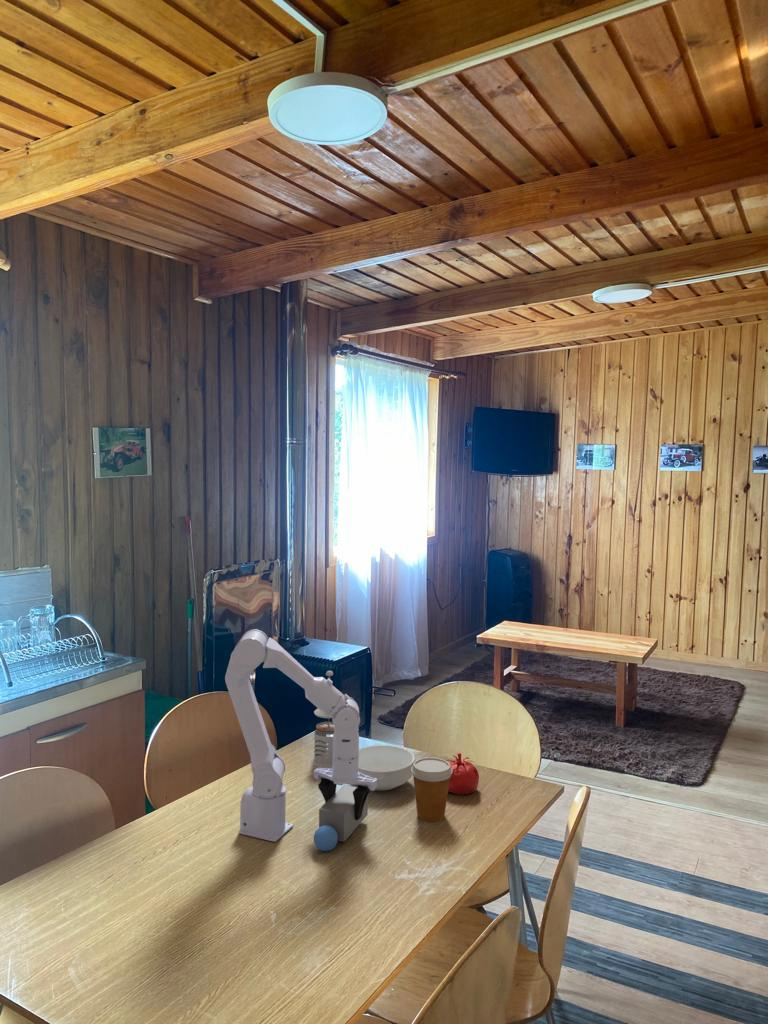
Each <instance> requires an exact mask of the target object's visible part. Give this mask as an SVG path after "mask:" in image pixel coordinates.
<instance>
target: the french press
mask: <svg viewBox="0 0 768 1024" xmlns="http://www.w3.org/2000/svg"><path fill="white" fill-rule="evenodd" d="M333 675H334V672H333V671H332V670H327V671H326V673H325V676H327V677H328V678H329V679H330V680H331V676H333ZM313 713H314V715H315V716H316V717H318V718H321V719H322V718H323V719H332V718H331V717H329V716H327V715H326V714H324V713H323V712H322V711H321V710H320V709H318V708H316V709H315V710H314V711H313ZM334 727H335V726H334V724H333V721H324V722H320V723H317V724H316V725H315V729H316V730H314V744H313V745H314V747H313V748H314V752H313V754H314V755H313V757H312V758H311V760H310V764H311V765H312V766H314V767H316V768H326V769H332V768H333V734H334ZM328 735H329V736H328ZM331 735H332V736H331Z"/></svg>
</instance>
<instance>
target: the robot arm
mask: <svg viewBox="0 0 768 1024" xmlns="http://www.w3.org/2000/svg"><path fill="white" fill-rule="evenodd" d="M262 663H263V665H262V668H263V669H273V668H274V669H278V670H279V671H280V672H282V674H284V675H286V676H287V677H289V678H290V679H291V680H292V681H293V682H294V683H296V684H297V685H299V686H300V687H301V688H302V689H303V690H304V695H305V698H306V699H307V700H308V701H309V702H310V703H311V704H313V706H315V707H316V709H320V710H321V711H322V712H323V713H324V714H326V715H327V716H329V717H331V718H330V719H331V720H332V722H333V724H334V726H335V727H334V734H333V735H332V737H333V768H319V767H316V769H315V770H313V779H314V780H320V782H319V783H318V787H317V788H318V789H319V791H320V793H321V794H322V797H323V799H324V802H325V803H326V802H327V801H328V800H329V799H330V798H331V797H332V796H333V795H334V794H335V793H336V792H337V785H339V786H341V785H342V786H343V785H348V786H353V787H357V788H356V789H355V790H354V791H353V796H354V802H355V820H359V819H360V818H361V816H362V811H363V807H364V804H365V801H366V799H367V796H368V797H369V794H370V792H371V791H373V792H374V791H376V790H375V789H376V788H377V779H376V778H372V777H369V776H367V775H364V774H362V773H359V772H358V764H359V749H360V735H359V730H360V729H359V725H360V723H361V718H360V708H359V705H358V703H357V701H355V699H354V698H353V697H351V696H349V695H348V694H347V693H344V694H343V692H342V691H340V690H339V689H337V688H336V686H334V685H333V680H331V678H330V679H329V677H328V678H327V679H326V678H325V677H323V676H313V674H311V673H310V672H309V671H308V670H307V669H306V668H305V667H304V666H303V665H302V664H301V663H300V662H298V660H297V659H295V658H294V657H293V656H292V655H291V654H290V653H289V652H288V651H287V650H285V648H284V647H282V646H281V645H280V644H279V643H278V642H277V641H276V640H275V639H273V638H272V637H268V635H267V634H266V633H265V632H264V631H262V630H260V629H255V628H253V629H250V630H248V631H246V632H245V633H244V634H243V635H241V638H240V639H239V640H238V642H237V644H236V645H235V647H234V649H233V650H232V652H231V654H230V659H229V662H228V665H227V668H226V672H225V676H224V680H225V681H224V682H225V685H226V689H227V690H228V691H227V692H228V694H229V697H230V699H231V702H232V705H233V708H234V711H235V714H236V717H237V720H238V724H239V726H240V729H241V733H242V735H243V738H244V740H245V745H246V747H247V750H248V753H249V756H250V766H251V767H250V768H251V769H250V770H251V772H252V775H253V776H252V778H253V779H252V786H249V787H247V788H246V789H245V790H244V791H243V793H242V795H241V800H240V810H239V811H240V814H239V815H240V816H239V819H240V821H239V822H240V823H239V825H240V827H239V828H240V829H239V830H238V831H237V832H238V834H239V835H243V836H248V837H251V838H257V839H259V840H265V841H269V842H273V843H275V842H277V841H278V840H279V839H280V838H281V837H283V836H284V835H285V834H287V832H288V831H290V830H291V829H292V828H293V827H294V824H293V823H290V822H286V809H287V808H286V807H287V806H286V805H287V804H286V803H287V802H286V801H287V800H286V798H287V797H286V792H287V790H286V789H287V787H286V786H285V784H284V782H283V778H284V774H285V772H286V763H285V761H284V759H283V758H282V757H281V756H280V755H279V754H278V753H277V749H276V747H275V746H274V745H273V744H272V742H271V740H270V736H269V734H268V730H267V727H266V724H265V721H264V719H263V715H262V712H261V710H260V707H259V703H258V701H257V697H256V695H255V692H254V691H255V690H254V688H253V685H252V684H251V680H250V677H251V676H252V673H253V672H254V671H255V669H256V668H258V667H259V666H260V665H261V664H262ZM325 803H324V804H325Z"/></svg>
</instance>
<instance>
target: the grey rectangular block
mask: <svg viewBox="0 0 768 1024" xmlns="http://www.w3.org/2000/svg"><path fill="white" fill-rule="evenodd" d="M356 788H357V786H353V785H348V784H343V785H342V786H341V787H340V788H339V789H338V790H336V793H335V794H334V795H333V796H332V797H331V798H330V799H329V800H328V801H327V802H326V803H324V804H322V806H321V807H320V808H319V809H318V813H319V814H318V824H319V825H318V828H319V827H321V826H324V825H328V826H331V827H333V828H334V829H335V831H336V832H337V836H338V840H337V841H340V842H345V841H346V840H347V839H348V838H349V837H350V835H352V834H353V832H354V831H355V830H356V829H357V828H358V826H360V824H361V823H362V822H363V821H364V820H365V818H367V816H368V811H369V810H368V808H369V807H368V803H369V801H368V800H369V799H368V797H369V795H368V796H367V799H366V801H365V804H364V807H363V811H362V816H361V818H360V819H359V820H355V802H354V796H353V791H354V790H355V789H356Z"/></svg>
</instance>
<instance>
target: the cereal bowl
mask: <svg viewBox="0 0 768 1024" xmlns="http://www.w3.org/2000/svg"><path fill="white" fill-rule="evenodd" d="M415 761H416V758H415V755H414V754H413V752H412V751H410V750H408V749H406V748H404V747H401V746H396V745H389V744H388V745H387V744H385V745H384V744H383V745H382V744H380V745H379V744H377V745H369V746H368V745H367V746H365V747H359V764H358V772H359V773H362V774H364V775H367V776H369V777H372V778H376V779H377V788H376V789H375V790H374V791H389V790H393V789H395V788H397V787H400V786H402V785H404V784H406V783H407V782H408V781H409V780H410V779H411V777H412V776H413V774H412V772H411V768H412V766H413V763H414V762H415Z"/></svg>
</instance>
